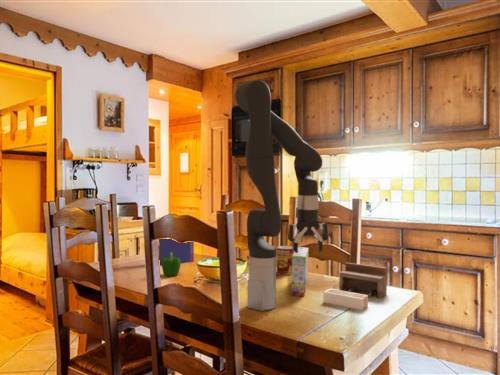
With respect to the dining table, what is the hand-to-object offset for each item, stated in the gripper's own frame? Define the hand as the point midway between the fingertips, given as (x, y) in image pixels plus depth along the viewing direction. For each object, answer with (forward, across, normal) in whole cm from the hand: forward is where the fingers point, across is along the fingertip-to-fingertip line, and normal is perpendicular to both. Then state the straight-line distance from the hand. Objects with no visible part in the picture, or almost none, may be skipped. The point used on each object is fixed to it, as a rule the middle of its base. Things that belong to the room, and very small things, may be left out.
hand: (307, 252), depth 139 cm
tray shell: (+17, +11, -8) cm, 22 cm away
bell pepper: (+18, -52, +40) cm, 68 cm away
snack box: (+18, +1, +13) cm, 22 cm away
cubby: (+18, +23, +4) cm, 29 cm away
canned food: (+19, 0, +39) cm, 44 cm away
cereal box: (+20, -52, +67) cm, 87 cm away
